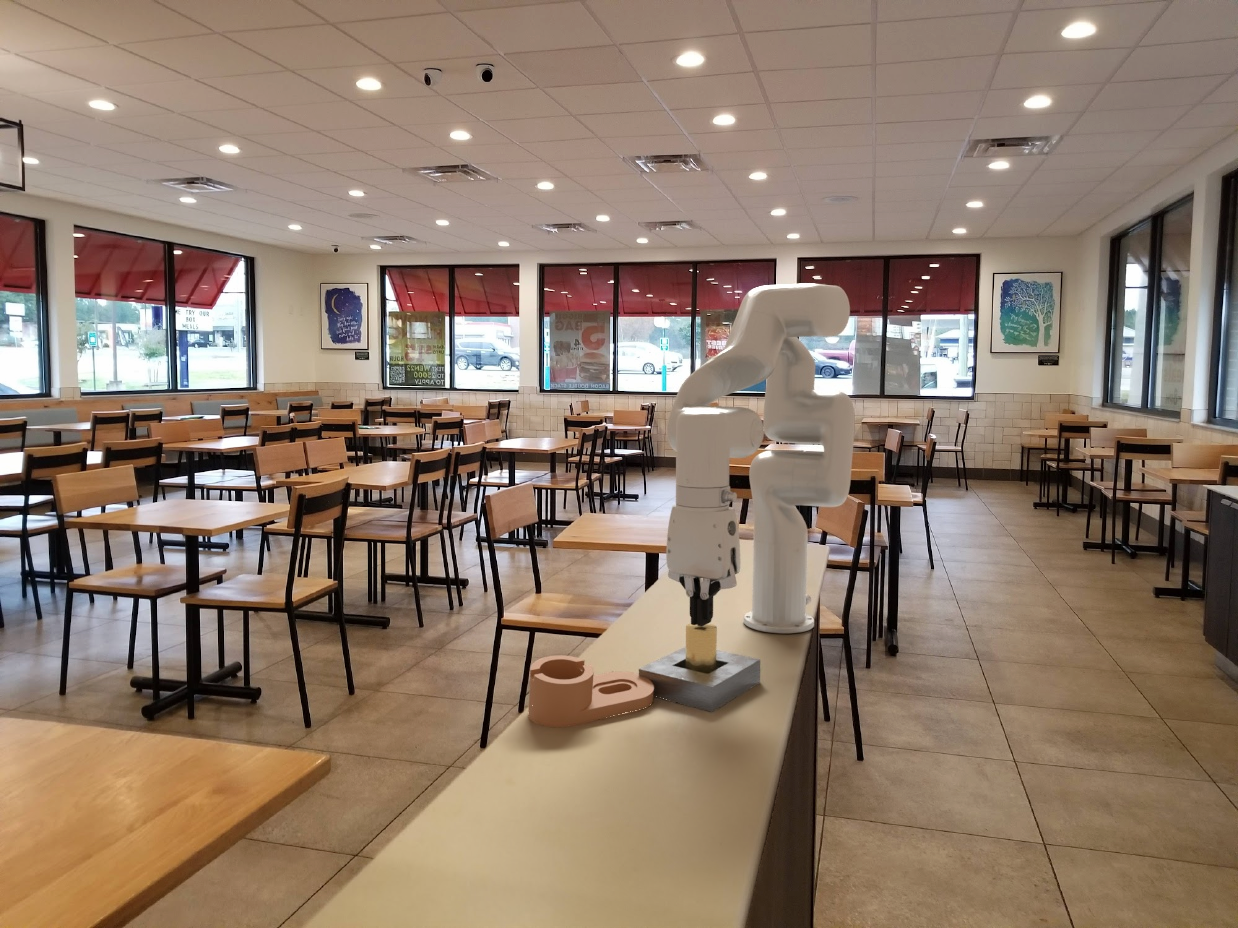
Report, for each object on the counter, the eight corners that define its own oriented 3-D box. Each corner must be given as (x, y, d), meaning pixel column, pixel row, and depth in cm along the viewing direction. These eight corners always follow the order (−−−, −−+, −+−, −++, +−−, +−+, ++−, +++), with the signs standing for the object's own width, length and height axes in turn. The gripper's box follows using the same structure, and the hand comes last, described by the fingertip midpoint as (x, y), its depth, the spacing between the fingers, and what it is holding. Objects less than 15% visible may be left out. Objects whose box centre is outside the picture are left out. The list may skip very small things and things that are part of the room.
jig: (690, 666, 135) (690, 644, 135) (760, 682, 128) (760, 659, 128) (638, 692, 124) (638, 668, 124) (712, 711, 117) (712, 686, 117)
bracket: (544, 738, 111) (547, 688, 109) (518, 708, 118) (520, 661, 116) (663, 711, 120) (667, 664, 118) (633, 684, 127) (636, 640, 125)
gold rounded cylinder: (695, 680, 129) (696, 620, 128) (721, 686, 127) (722, 625, 126) (679, 688, 126) (680, 627, 125) (706, 695, 123) (706, 633, 122)
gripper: (762, 498, 122) (760, 626, 124) (671, 490, 131) (671, 609, 133) (736, 505, 116) (734, 639, 118) (643, 496, 125) (643, 620, 127)
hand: (701, 623), depth 126 cm, fingers closed
